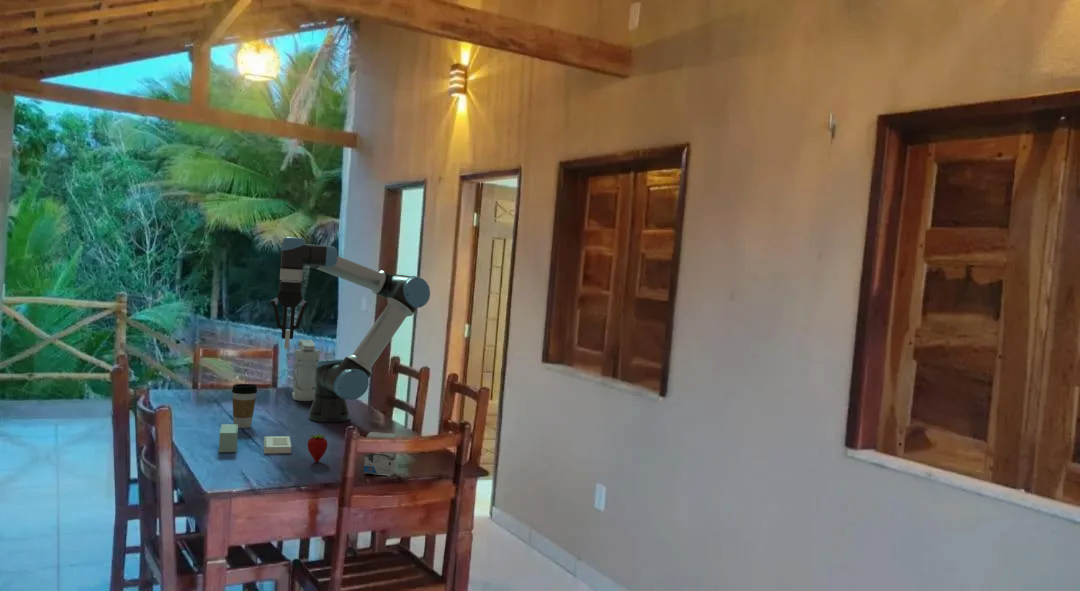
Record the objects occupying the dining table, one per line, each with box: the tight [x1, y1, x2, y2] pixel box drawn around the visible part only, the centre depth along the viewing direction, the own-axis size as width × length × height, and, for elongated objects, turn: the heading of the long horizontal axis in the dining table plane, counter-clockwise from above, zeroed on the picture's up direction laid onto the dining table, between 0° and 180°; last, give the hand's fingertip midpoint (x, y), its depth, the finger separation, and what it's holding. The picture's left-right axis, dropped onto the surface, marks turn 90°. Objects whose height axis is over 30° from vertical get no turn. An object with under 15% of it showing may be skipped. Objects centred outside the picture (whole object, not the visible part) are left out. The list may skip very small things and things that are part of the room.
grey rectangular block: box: [218, 423, 239, 453], centre depth 241 cm, size 5×12×6 cm, turn 20°
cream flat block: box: [263, 435, 292, 454], centre depth 246 cm, size 8×14×2 cm, turn 20°
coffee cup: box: [231, 383, 258, 429], centre depth 271 cm, size 8×8×15 cm
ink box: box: [363, 431, 398, 475], centre depth 226 cm, size 9×5×12 cm, turn 92°
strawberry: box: [307, 429, 328, 463], centre depth 233 cm, size 6×8×10 cm
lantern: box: [291, 338, 321, 402], centre depth 330 cm, size 13×10×25 cm
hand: (286, 348), depth 268 cm, fingers closed
